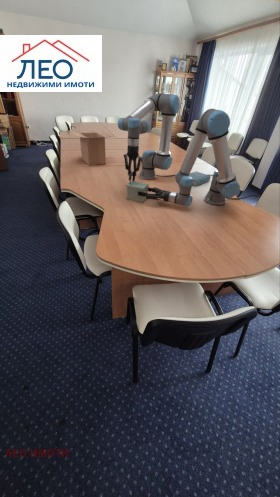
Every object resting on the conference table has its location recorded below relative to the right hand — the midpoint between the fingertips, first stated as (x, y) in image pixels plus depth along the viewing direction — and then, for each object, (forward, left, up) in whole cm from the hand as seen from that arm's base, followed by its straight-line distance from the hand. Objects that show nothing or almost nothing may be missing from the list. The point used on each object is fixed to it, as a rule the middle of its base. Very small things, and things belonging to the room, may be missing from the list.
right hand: (140, 190), depth 162 cm
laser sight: (-16, -92, -6) cm, 93 cm away
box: (+46, -93, -6) cm, 104 cm away
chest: (+2, -1, -6) cm, 7 cm away
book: (-53, -44, -6) cm, 69 cm away
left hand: (+7, -3, +6) cm, 10 cm away
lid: (+3, -1, +3) cm, 4 cm away
